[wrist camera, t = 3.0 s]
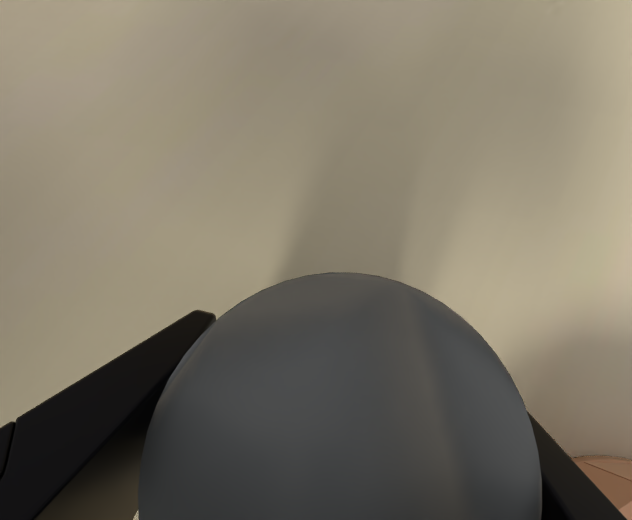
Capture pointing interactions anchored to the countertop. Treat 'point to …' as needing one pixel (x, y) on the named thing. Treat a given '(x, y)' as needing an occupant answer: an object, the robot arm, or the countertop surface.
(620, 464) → the terracotta bowl
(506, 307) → the countertop surface
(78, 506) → the robot arm
